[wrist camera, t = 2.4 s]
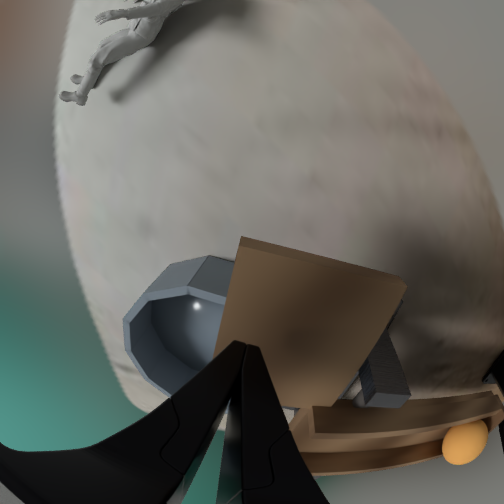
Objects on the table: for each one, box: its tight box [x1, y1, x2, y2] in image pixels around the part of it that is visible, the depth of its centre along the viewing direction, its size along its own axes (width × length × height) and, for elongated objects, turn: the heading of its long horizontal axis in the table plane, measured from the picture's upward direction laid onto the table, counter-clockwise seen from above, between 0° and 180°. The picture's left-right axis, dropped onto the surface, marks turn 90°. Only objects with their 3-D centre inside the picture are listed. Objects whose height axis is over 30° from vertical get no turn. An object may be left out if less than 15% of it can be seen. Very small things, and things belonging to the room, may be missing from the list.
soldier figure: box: [59, 0, 185, 106], centre depth 10 cm, size 8×5×12 cm
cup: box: [123, 256, 234, 414], centre depth 18 cm, size 11×11×4 cm
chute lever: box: [212, 236, 504, 476], centre depth 11 cm, size 22×14×3 cm, turn 76°
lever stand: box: [281, 299, 411, 480], centre depth 15 cm, size 5×13×8 cm, turn 166°
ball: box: [442, 419, 488, 465], centre depth 11 cm, size 4×4×4 cm
